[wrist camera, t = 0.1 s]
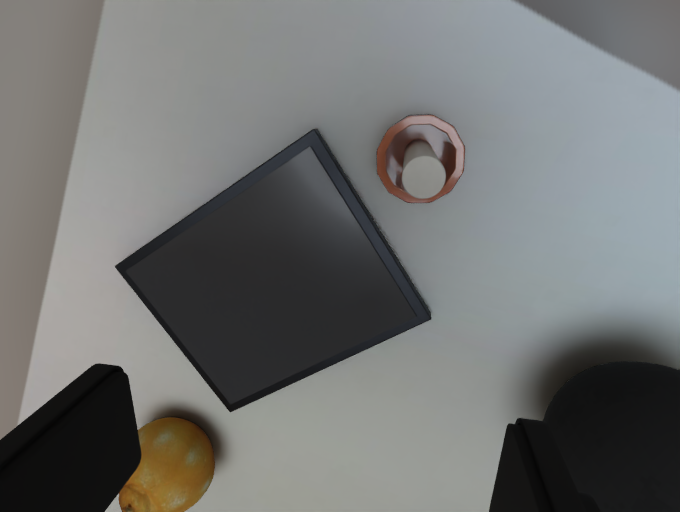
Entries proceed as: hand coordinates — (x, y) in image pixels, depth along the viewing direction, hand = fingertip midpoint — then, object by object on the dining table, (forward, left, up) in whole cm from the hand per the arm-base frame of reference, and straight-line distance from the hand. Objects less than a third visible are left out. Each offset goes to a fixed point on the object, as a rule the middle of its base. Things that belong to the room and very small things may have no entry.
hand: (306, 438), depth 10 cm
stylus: (-3, +5, -20) cm, 21 cm away
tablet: (0, -10, -21) cm, 23 cm away
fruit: (+9, -27, -21) cm, 36 cm away
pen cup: (-3, +5, -21) cm, 22 cm away
